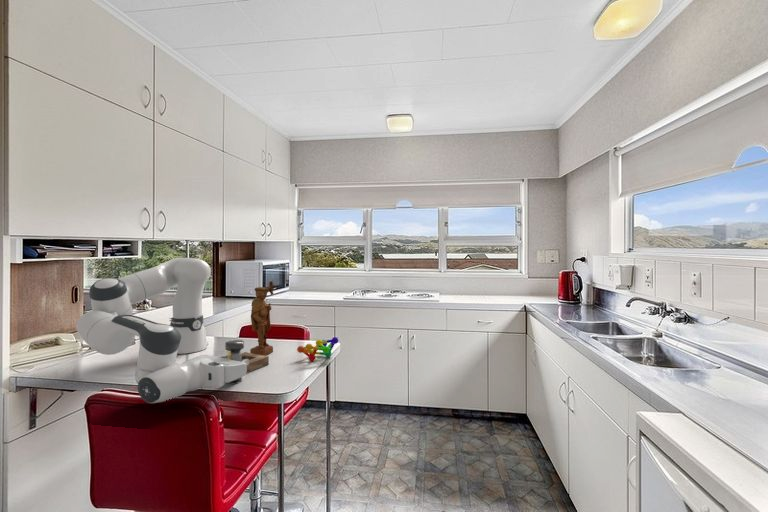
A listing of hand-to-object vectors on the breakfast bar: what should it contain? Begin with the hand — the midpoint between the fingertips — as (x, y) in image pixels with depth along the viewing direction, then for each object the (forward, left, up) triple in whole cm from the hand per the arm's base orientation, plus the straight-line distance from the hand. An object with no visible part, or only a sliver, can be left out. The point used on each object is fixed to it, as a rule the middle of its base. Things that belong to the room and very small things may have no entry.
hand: (237, 359), depth 127 cm
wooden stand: (-9, +11, -7) cm, 16 cm away
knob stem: (0, -1, -7) cm, 7 cm away
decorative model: (+9, +32, -7) cm, 34 cm away
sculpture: (-15, +26, -7) cm, 31 cm away
